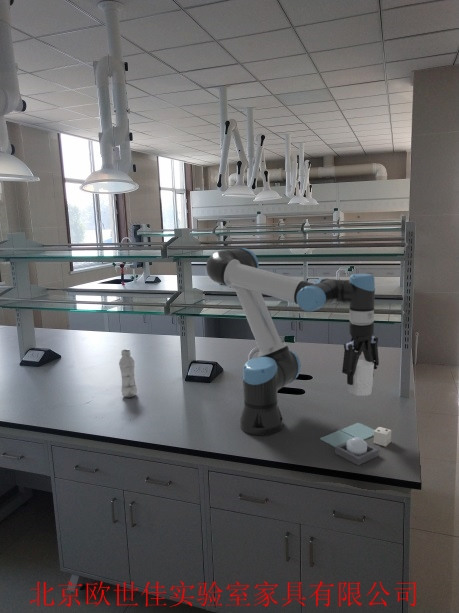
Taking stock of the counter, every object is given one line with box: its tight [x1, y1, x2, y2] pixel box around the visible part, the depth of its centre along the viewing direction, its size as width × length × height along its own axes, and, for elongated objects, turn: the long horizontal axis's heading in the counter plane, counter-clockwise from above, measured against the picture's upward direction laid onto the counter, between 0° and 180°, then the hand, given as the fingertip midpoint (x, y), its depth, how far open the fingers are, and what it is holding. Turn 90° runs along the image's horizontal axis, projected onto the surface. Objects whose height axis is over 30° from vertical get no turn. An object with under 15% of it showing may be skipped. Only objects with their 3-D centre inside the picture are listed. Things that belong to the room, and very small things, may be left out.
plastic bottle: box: [118, 348, 138, 398], centre depth 186 cm, size 6×7×20 cm
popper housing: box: [334, 442, 380, 466], centre depth 135 cm, size 9×9×2 cm
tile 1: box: [319, 429, 354, 448], centre depth 144 cm, size 9×9×1 cm
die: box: [373, 426, 392, 448], centre depth 141 cm, size 4×4×4 cm
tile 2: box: [339, 422, 376, 441], centre depth 149 cm, size 9×9×1 cm
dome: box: [346, 437, 368, 456], centre depth 134 cm, size 6×6×5 cm
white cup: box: [354, 358, 375, 397], centre depth 145 cm, size 8×8×10 cm
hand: (360, 390), depth 146 cm, fingers closed on white cup, 8 cm apart
